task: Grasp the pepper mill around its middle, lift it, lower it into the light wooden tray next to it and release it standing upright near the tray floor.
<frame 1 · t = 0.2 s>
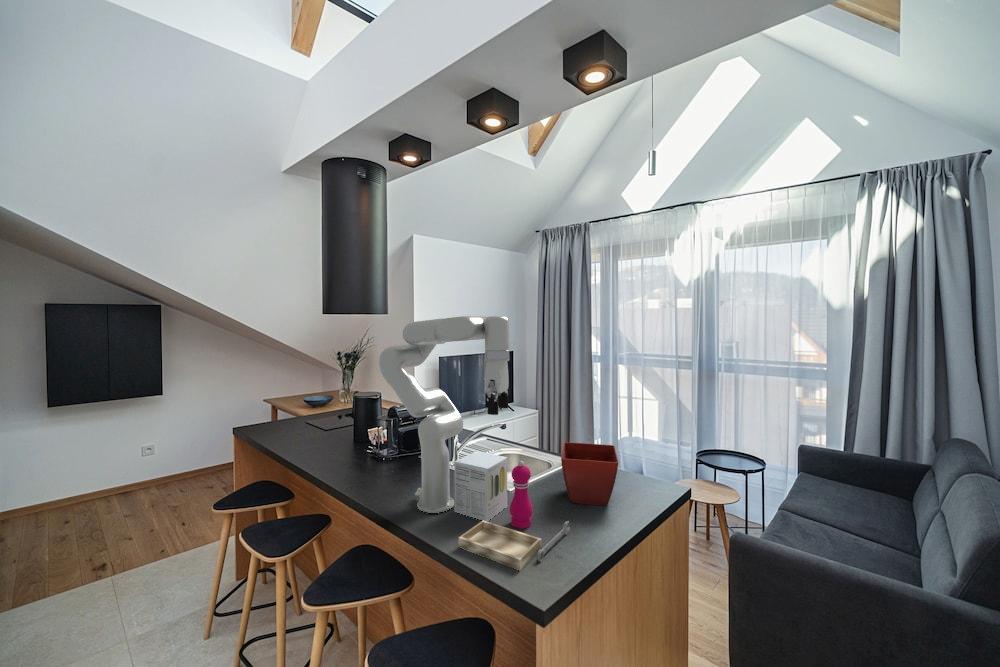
hand: (498, 411, 129), 36 cm above the counter, tool pointing down, fingers open, 9 cm apart
wooden tray: (499, 548, 116), on the counter
plant pot: (588, 497, 150), on the counter
pepper mill: (521, 524, 130), on the counter
supplement box: (481, 510, 140), on the counter
combination wrench: (555, 547, 118), on the counter
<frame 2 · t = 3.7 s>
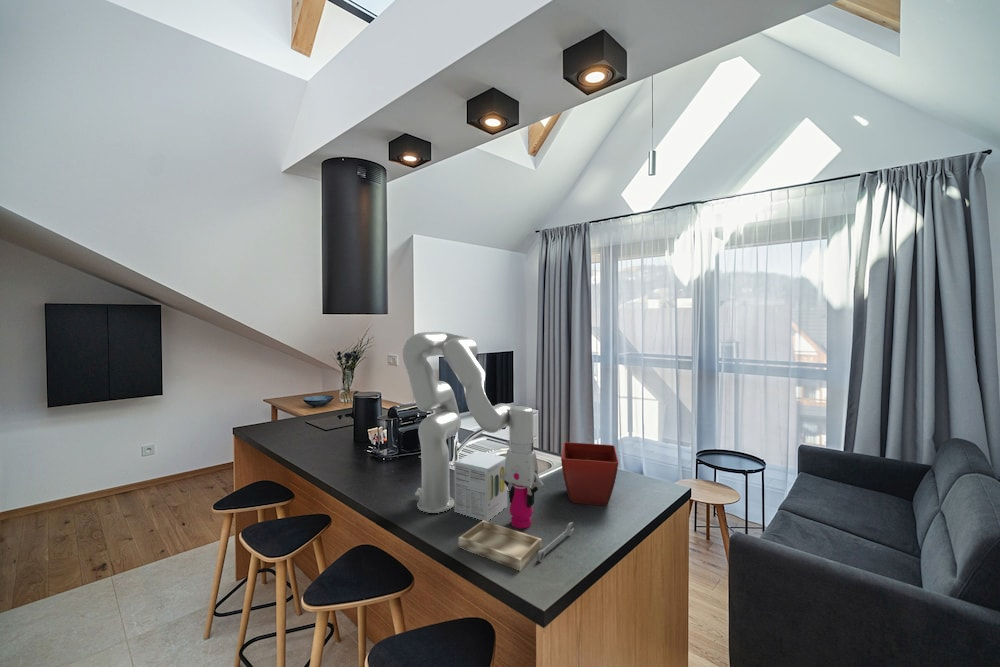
hand: (521, 503, 130), 7 cm above the counter, tool pointing down, fingers closed on pepper mill, 5 cm apart
pepper mill: (521, 524, 130), on the counter, touching gripper
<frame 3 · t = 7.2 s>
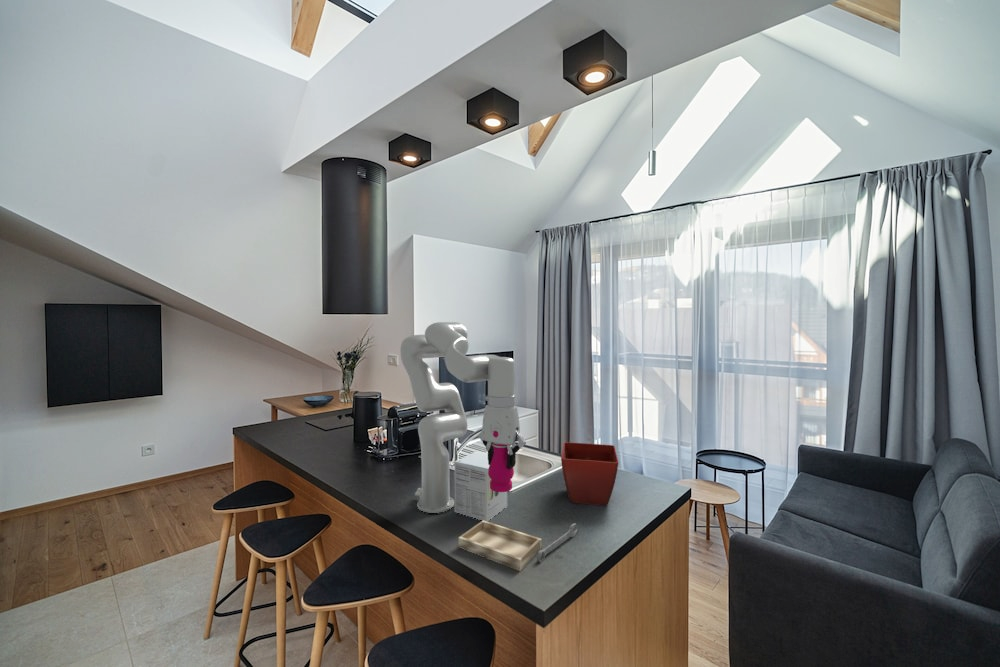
hand: (501, 464, 116), 23 cm above the counter, tool pointing down, fingers closed on pepper mill, 5 cm apart
pepper mill: (501, 488, 117), point 17 cm above the counter, touching gripper
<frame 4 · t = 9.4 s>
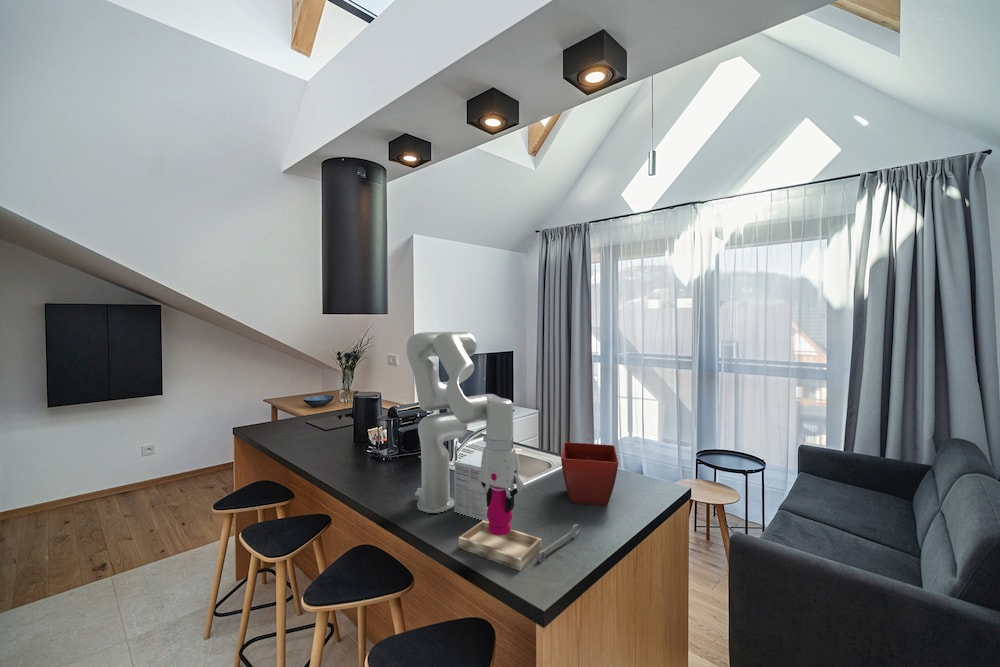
hand: (500, 507, 116), 12 cm above the counter, tool pointing down, fingers closed on pepper mill, 5 cm apart
pepper mill: (499, 530, 116), point 5 cm above the counter, touching gripper
when the fingers open (9 cm above the counter, at t = 10.9 s): pepper mill drops 1 cm, resting on wooden tray.
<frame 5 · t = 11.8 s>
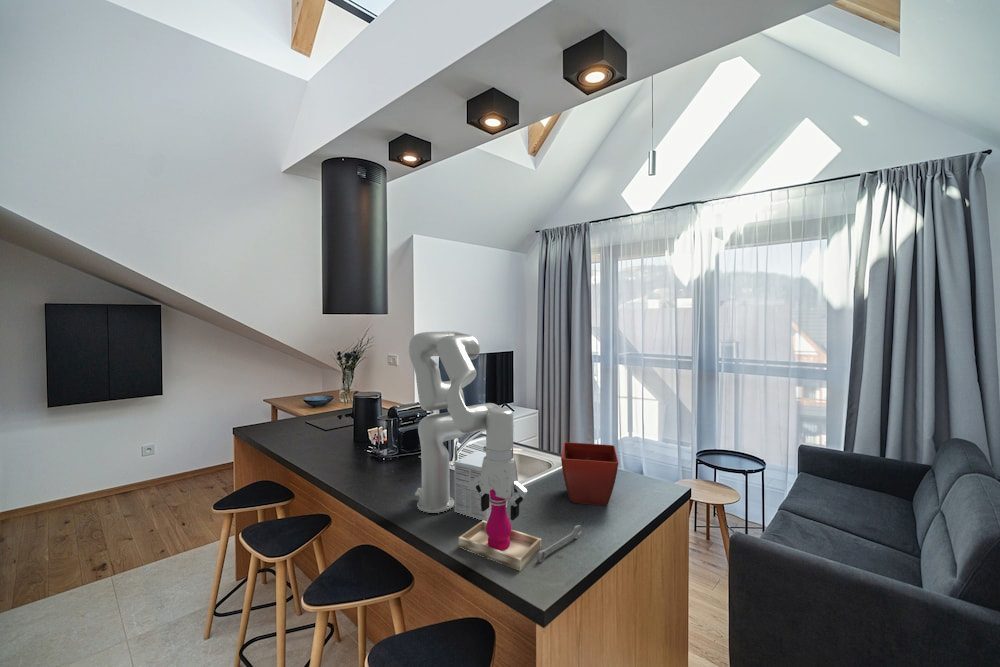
hand: (499, 513, 116), 10 cm above the counter, tool pointing down, fingers open, 9 cm apart
pepper mill: (498, 545, 117), point 1 cm above the counter, touching wooden tray
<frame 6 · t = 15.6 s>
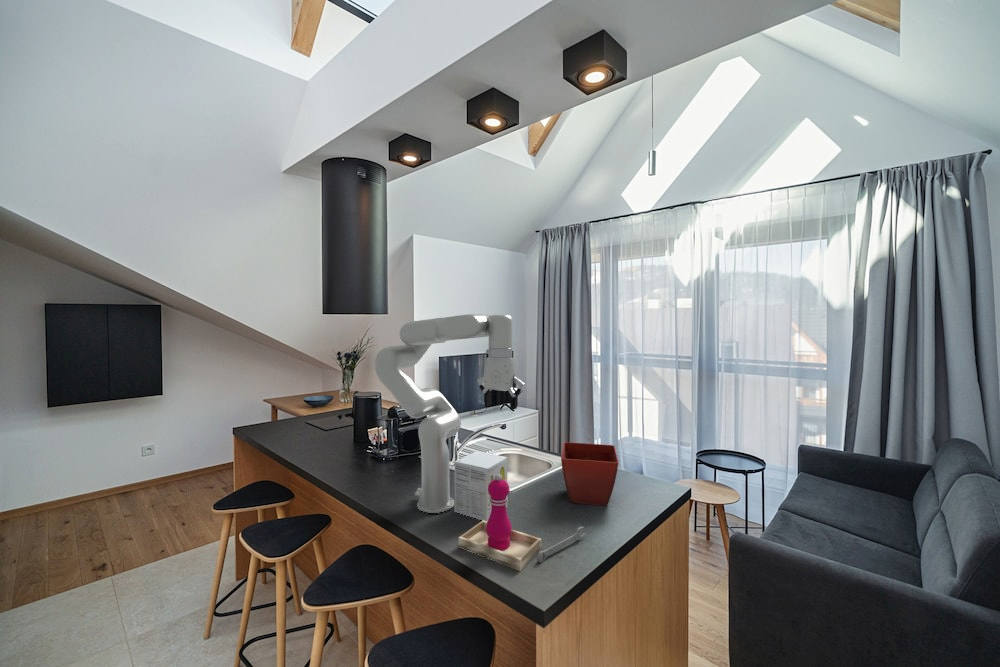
hand: (500, 407, 132), 36 cm above the counter, tool pointing down, fingers open, 9 cm apart
at the end: pepper mill inside the target area on the wooden tray (0.4 cm from its centre), point 0.8 cm above the wooden tray's base; pepper mill tilted 0°; the gripper is holding nothing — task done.
